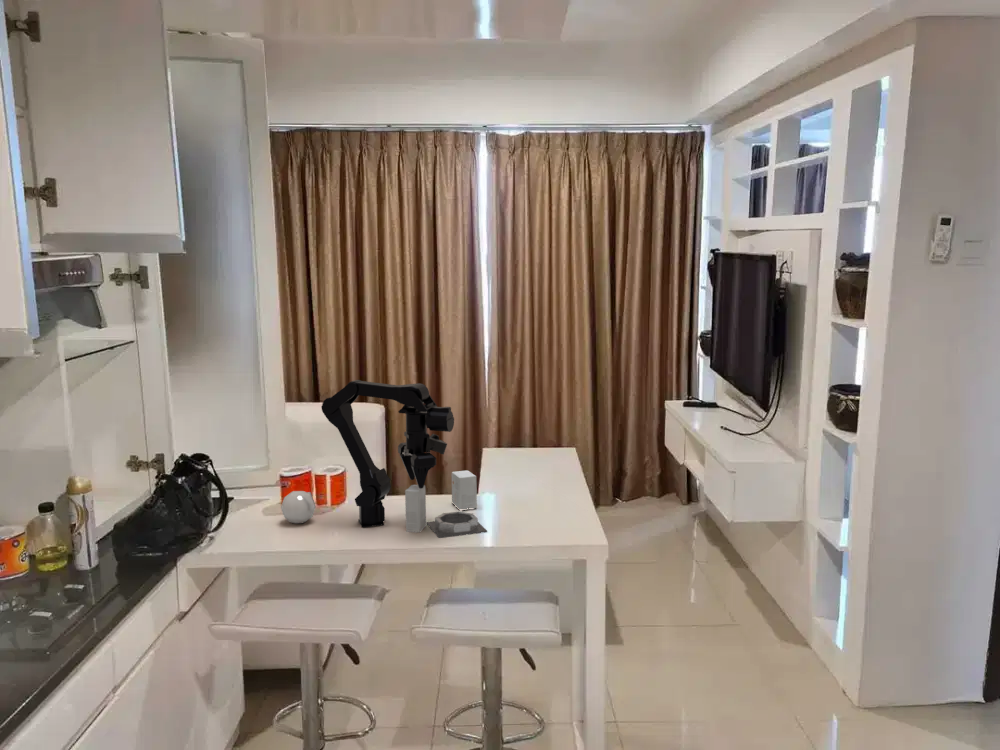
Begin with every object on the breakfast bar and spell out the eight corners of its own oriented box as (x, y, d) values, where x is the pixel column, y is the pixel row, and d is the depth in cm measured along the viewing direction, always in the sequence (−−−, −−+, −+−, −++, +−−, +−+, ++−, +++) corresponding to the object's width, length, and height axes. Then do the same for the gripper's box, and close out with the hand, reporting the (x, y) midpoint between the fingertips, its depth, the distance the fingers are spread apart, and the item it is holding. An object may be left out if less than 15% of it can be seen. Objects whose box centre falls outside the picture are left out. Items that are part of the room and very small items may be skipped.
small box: (477, 509, 230) (476, 476, 229) (459, 511, 228) (459, 477, 227) (468, 502, 238) (468, 469, 236) (451, 504, 236) (451, 471, 234)
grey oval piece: (291, 533, 213) (300, 522, 228) (319, 512, 213) (326, 503, 228) (271, 507, 212) (281, 498, 227) (299, 486, 213) (308, 479, 228)
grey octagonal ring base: (438, 538, 205) (438, 528, 205) (426, 523, 217) (426, 514, 217) (487, 532, 210) (487, 522, 210) (472, 518, 222) (472, 508, 222)
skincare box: (412, 524, 216) (411, 484, 214) (426, 526, 215) (426, 485, 214) (405, 531, 210) (404, 490, 209) (419, 533, 209) (419, 491, 208)
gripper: (454, 434, 204) (454, 490, 206) (434, 421, 221) (434, 473, 223) (414, 436, 200) (414, 494, 202) (397, 423, 217) (397, 476, 219)
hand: (416, 483), depth 211 cm, fingers open, 9 cm apart
